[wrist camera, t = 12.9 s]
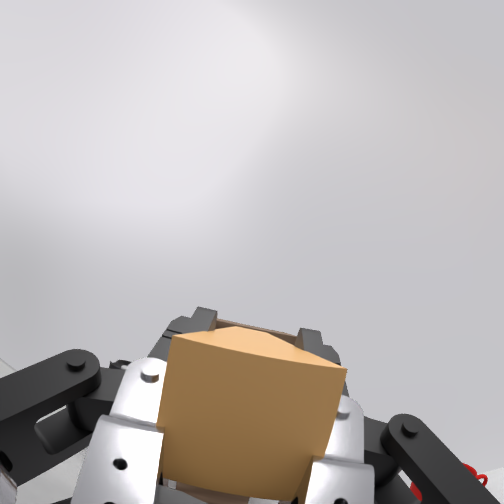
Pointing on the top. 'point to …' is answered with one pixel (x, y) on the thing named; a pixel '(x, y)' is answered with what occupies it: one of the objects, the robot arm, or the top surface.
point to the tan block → (245, 411)
